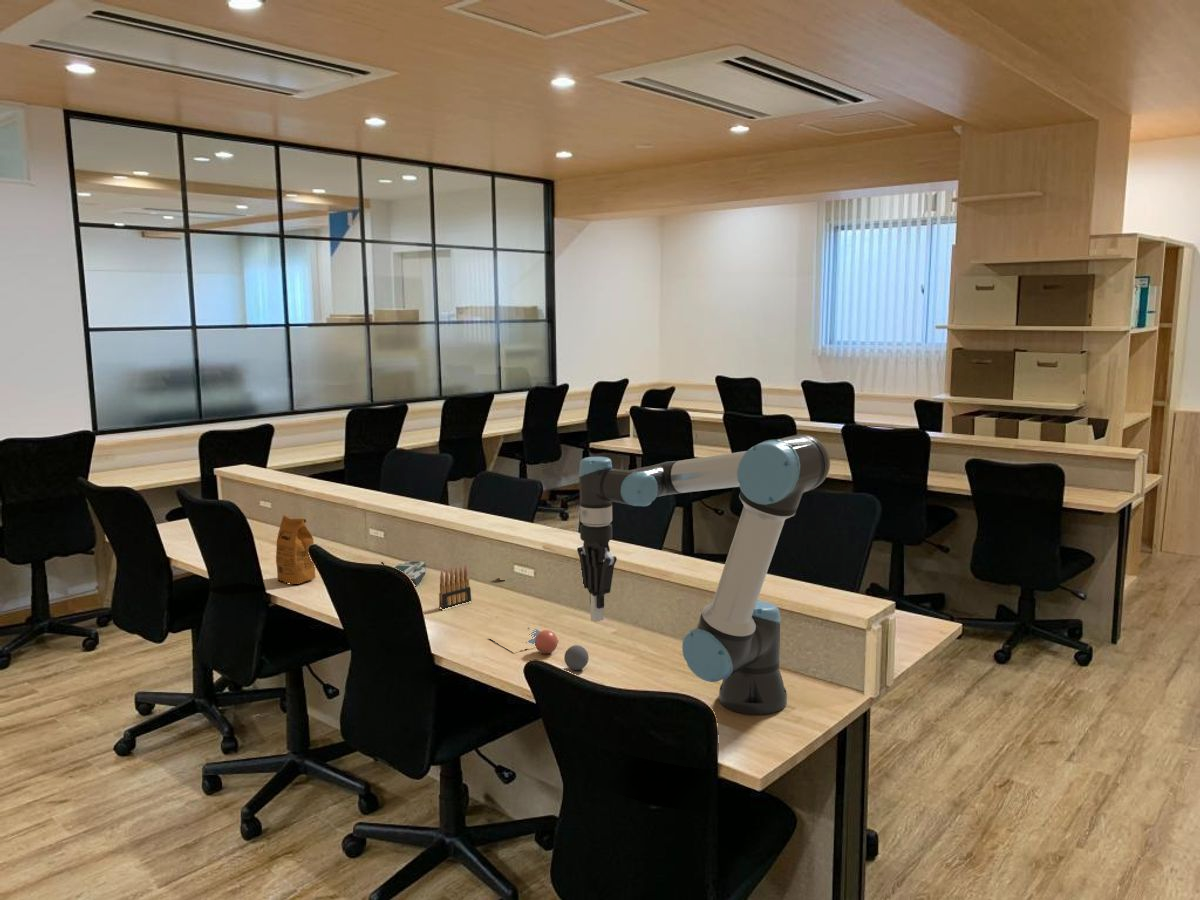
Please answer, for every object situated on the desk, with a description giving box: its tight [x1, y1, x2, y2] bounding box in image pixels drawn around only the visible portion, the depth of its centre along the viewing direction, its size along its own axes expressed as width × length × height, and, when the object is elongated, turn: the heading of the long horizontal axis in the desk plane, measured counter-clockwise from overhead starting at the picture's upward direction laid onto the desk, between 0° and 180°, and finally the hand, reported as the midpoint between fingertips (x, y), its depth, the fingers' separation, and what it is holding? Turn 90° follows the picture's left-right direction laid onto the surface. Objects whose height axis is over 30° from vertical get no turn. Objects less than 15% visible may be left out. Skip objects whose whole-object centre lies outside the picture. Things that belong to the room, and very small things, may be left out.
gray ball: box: [564, 644, 589, 671], centre depth 227 cm, size 6×6×6 cm
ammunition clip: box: [438, 564, 472, 609], centre depth 277 cm, size 11×2×12 cm, turn 135°
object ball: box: [535, 629, 559, 655], centre depth 238 cm, size 6×6×6 cm
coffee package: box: [275, 514, 316, 585], centre depth 306 cm, size 10×12×22 cm
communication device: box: [380, 560, 427, 587], centre depth 308 cm, size 12×24×9 cm, turn 175°
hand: (597, 619), depth 218 cm, fingers closed
